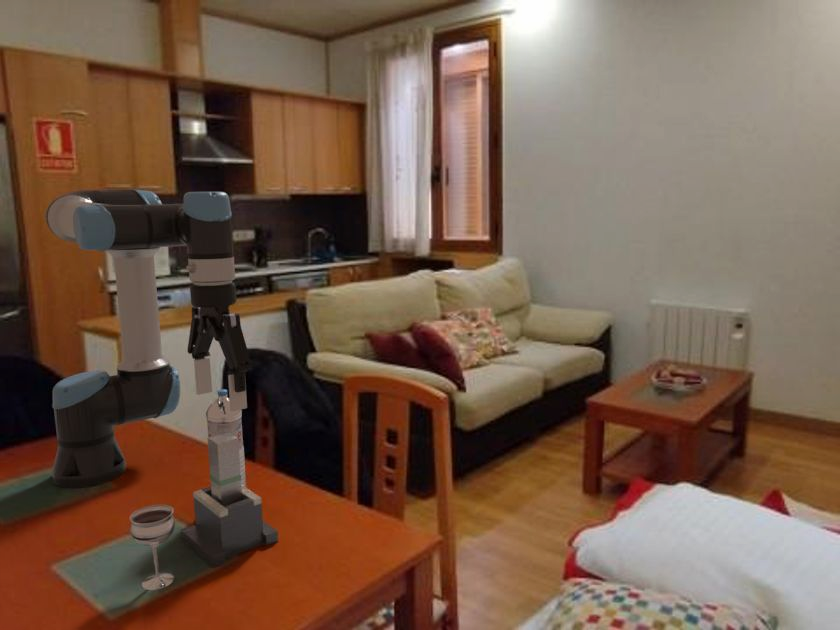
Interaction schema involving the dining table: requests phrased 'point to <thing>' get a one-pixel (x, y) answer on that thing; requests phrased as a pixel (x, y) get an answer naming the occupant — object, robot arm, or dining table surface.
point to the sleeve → (227, 527)
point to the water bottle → (226, 424)
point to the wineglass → (153, 538)
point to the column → (225, 469)
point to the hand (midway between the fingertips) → (220, 401)
